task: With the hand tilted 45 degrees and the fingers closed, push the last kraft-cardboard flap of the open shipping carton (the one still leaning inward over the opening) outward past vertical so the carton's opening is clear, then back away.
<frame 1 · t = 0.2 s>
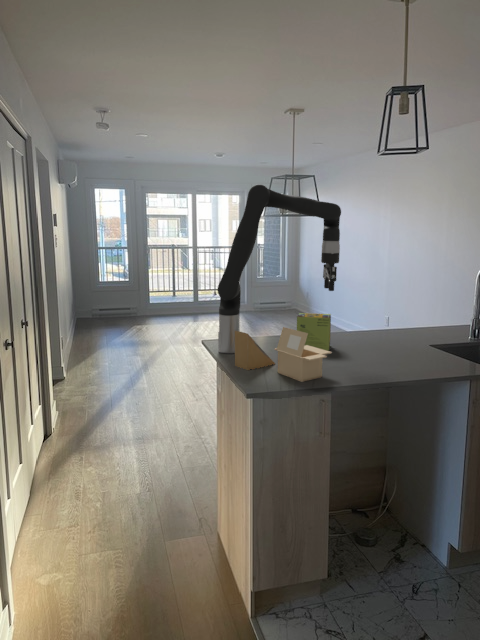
hand: (329, 289, 211), 29 cm above the countertop, tool pointing down, fingers open, 8 cm apart
carton: (299, 375, 187), on the countertop
sandwich container: (255, 365, 201), on the countertop
protein box: (313, 348, 230), on the countertop
flap: (291, 341, 182), point 14 cm above the countertop, hinge at 70.0°
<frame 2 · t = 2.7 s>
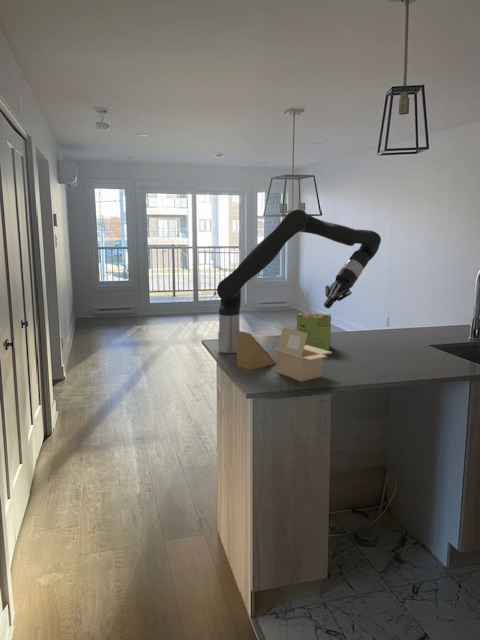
hand: (326, 306, 189), 25 cm above the countertop, tool tilted 45°, fingers closed
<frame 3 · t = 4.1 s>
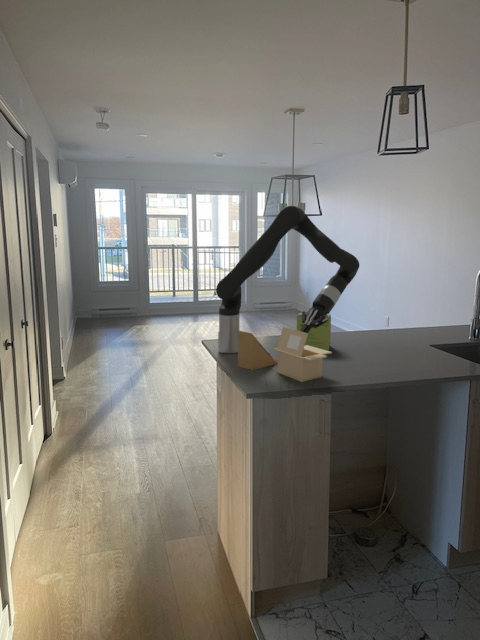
hand: (302, 334, 184), 16 cm above the countertop, tool tilted 45°, fingers closed
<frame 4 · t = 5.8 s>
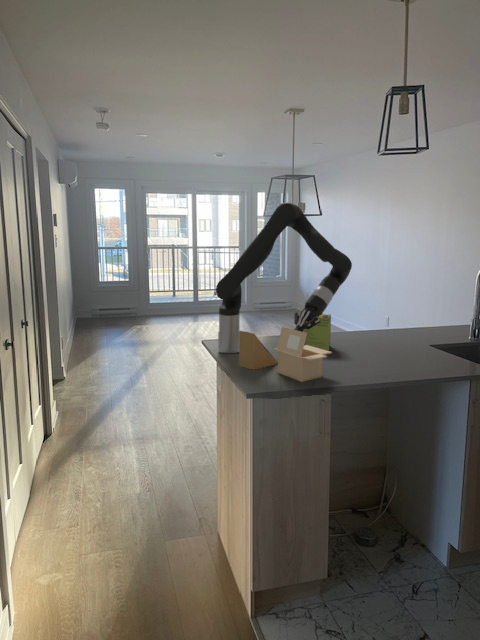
hand: (294, 335, 182), 16 cm above the countertop, tool tilted 45°, fingers closed
flap: (291, 341, 182), point 14 cm above the countertop, hinge at 73.3°, touching gripper
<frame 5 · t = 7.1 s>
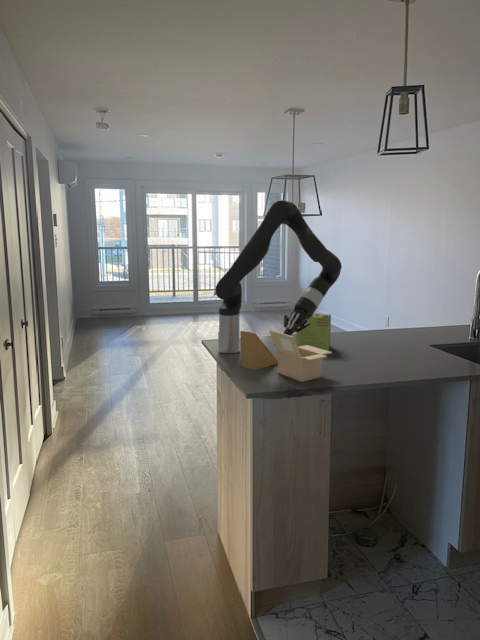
hand: (284, 338, 179), 15 cm above the countertop, tool tilted 45°, fingers closed
flap: (284, 343, 180), point 13 cm above the countertop, hinge at 114.6°, touching gripper
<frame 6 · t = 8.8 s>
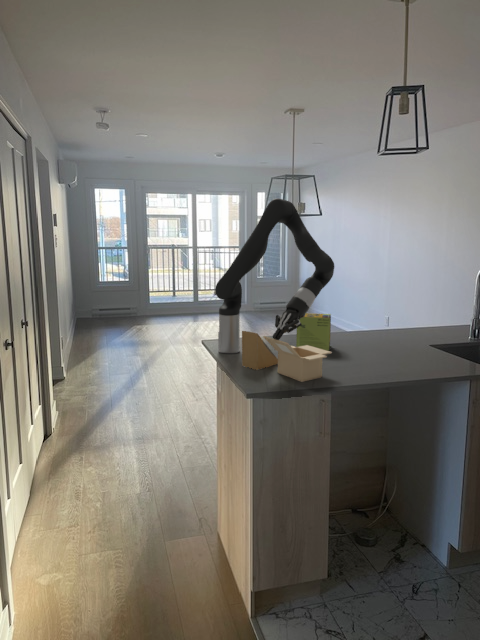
hand: (275, 339, 177), 16 cm above the countertop, tool tilted 45°, fingers closed
flap: (281, 347, 179), point 12 cm above the countertop, hinge at 136.2°, touching gripper
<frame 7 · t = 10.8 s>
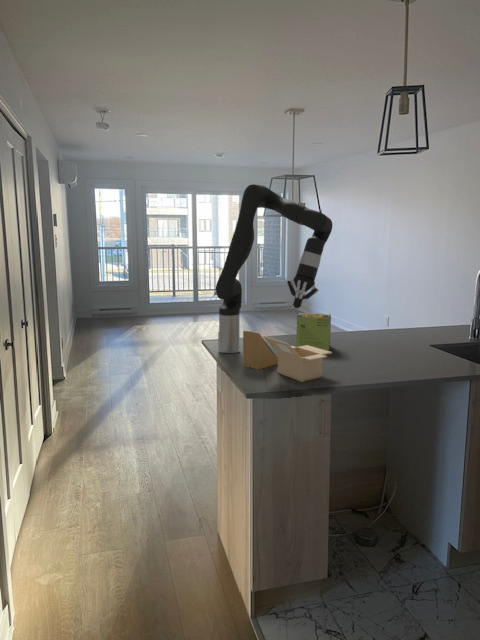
hand: (296, 307, 191), 24 cm above the countertop, tool tilted 15°, fingers closed
flap: (281, 347, 179), point 12 cm above the countertop, hinge at 136.2°
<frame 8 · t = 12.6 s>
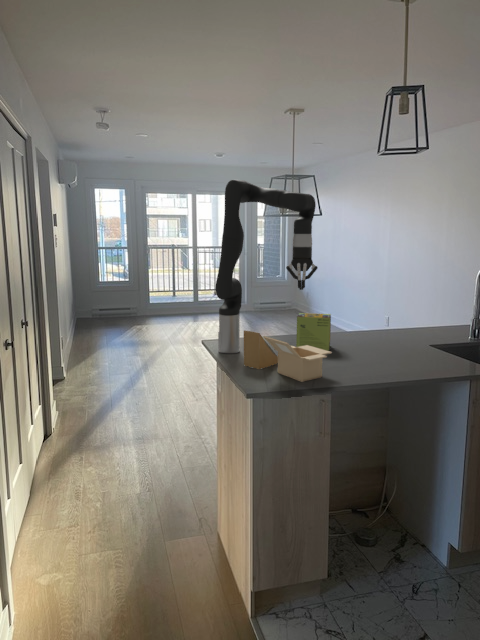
hand: (301, 289, 196), 31 cm above the countertop, tool pointing down, fingers closed
at the end: flap at +136° (first picture: +70°); flap touching nothing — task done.
